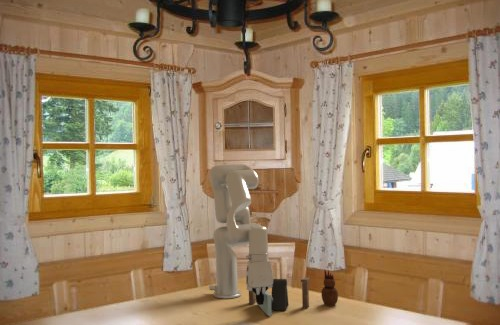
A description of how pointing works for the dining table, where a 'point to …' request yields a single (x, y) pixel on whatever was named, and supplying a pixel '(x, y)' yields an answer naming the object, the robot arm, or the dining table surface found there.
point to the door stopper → (279, 295)
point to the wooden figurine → (329, 290)
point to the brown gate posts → (304, 294)
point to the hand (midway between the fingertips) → (260, 303)
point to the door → (266, 303)
